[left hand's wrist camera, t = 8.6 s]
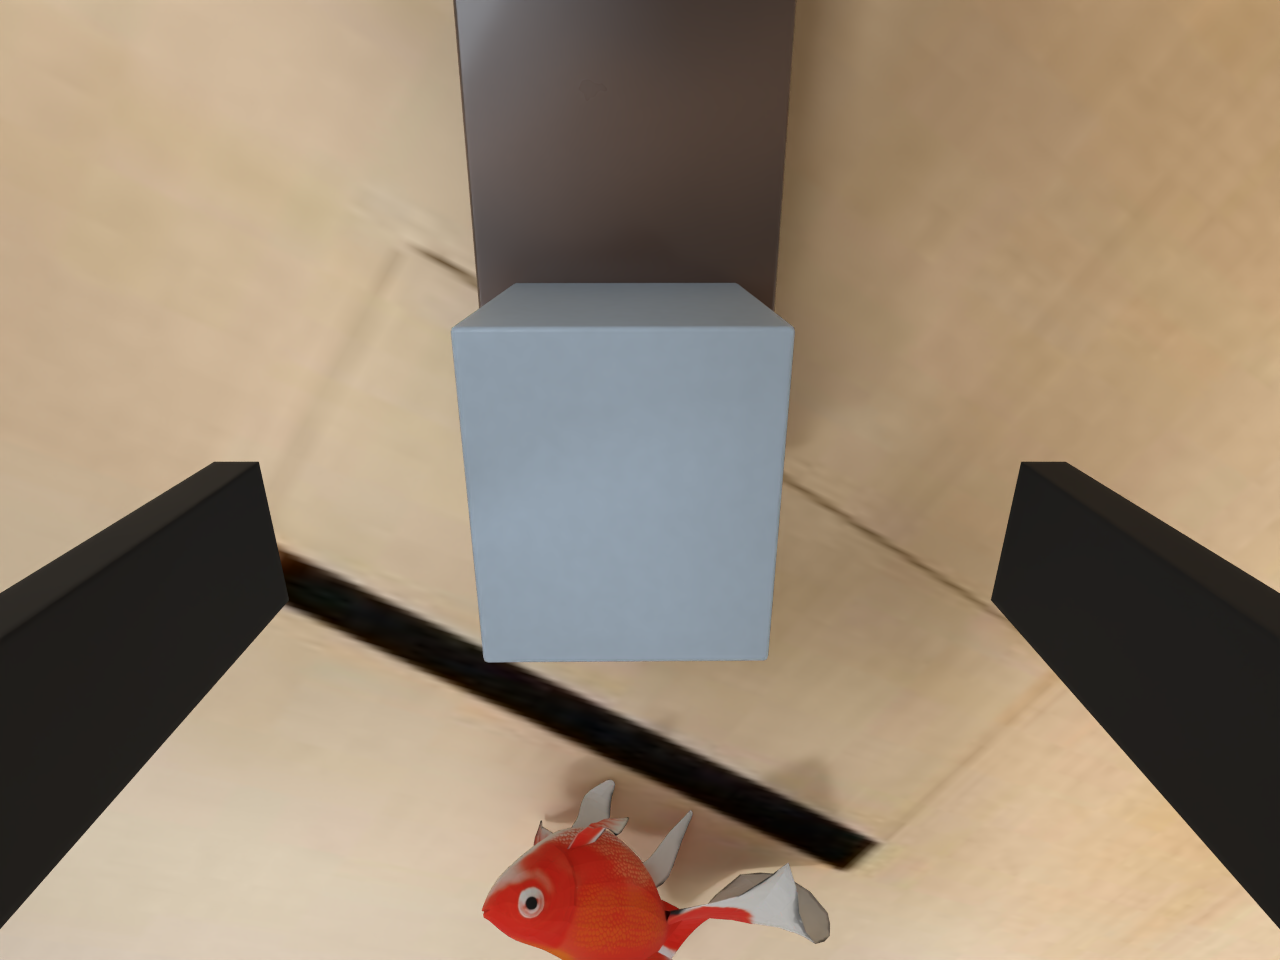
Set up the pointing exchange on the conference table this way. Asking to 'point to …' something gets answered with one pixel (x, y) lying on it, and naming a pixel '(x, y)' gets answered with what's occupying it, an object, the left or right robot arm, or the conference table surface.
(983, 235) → the conference table surface
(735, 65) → the walnut base
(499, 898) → the fish
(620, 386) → the cap block
